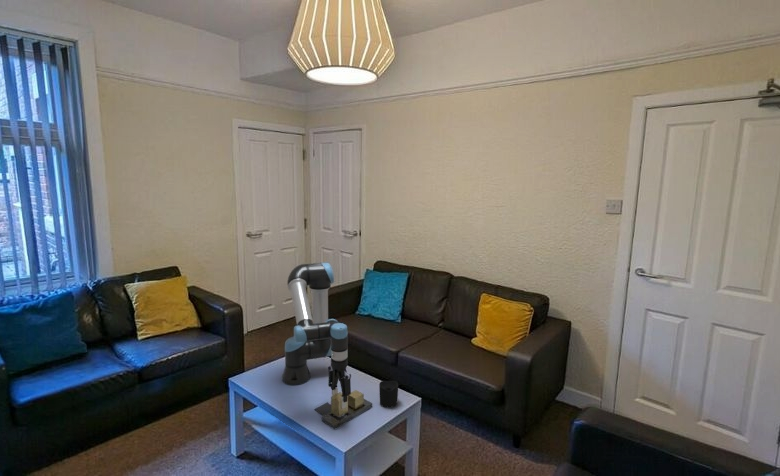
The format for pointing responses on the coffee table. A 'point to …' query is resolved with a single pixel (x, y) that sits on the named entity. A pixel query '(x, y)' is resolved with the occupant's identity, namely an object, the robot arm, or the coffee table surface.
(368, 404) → the rail
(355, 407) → the block
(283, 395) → the coffee table surface
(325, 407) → the rubber pad
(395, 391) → the pen holder
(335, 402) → the tan textured cube
